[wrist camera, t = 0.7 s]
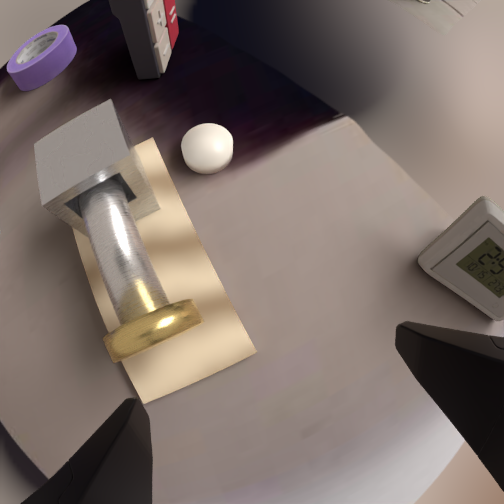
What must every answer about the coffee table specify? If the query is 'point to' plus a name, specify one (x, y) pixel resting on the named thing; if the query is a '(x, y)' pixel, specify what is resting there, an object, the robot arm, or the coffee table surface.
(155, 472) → the coffee table surface
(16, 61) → the tape roll
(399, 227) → the coffee table surface
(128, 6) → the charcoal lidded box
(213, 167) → the white rounded flat piece
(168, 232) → the board
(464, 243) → the digital clock
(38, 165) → the bearing block
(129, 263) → the shaft
